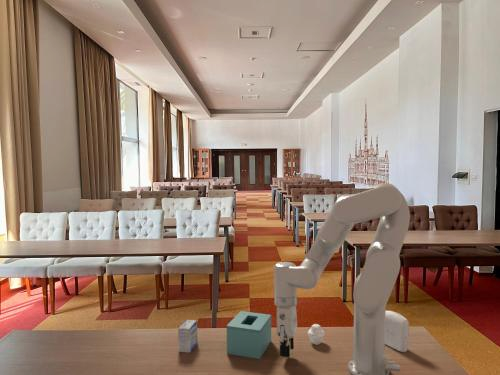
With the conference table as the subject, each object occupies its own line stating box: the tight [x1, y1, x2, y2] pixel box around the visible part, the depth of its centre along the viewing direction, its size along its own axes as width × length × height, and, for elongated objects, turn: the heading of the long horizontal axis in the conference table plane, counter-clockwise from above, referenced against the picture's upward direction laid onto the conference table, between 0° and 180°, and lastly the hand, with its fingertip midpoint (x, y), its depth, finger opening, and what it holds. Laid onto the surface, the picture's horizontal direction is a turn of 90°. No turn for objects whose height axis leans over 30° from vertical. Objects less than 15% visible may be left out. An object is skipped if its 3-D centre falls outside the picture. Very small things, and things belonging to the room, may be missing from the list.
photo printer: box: [385, 310, 410, 353], centre depth 143 cm, size 10×4×12 cm, turn 31°
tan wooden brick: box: [281, 338, 293, 360], centre depth 134 cm, size 2×5×5 cm, turn 161°
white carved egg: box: [307, 323, 326, 346], centre depth 146 cm, size 6×6×7 cm
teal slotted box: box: [226, 310, 272, 360], centre depth 143 cm, size 12×14×10 cm
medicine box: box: [177, 319, 198, 354], centre depth 143 cm, size 8×4×9 cm, turn 168°
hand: (286, 351), depth 134 cm, fingers closed on tan wooden brick, 4 cm apart
